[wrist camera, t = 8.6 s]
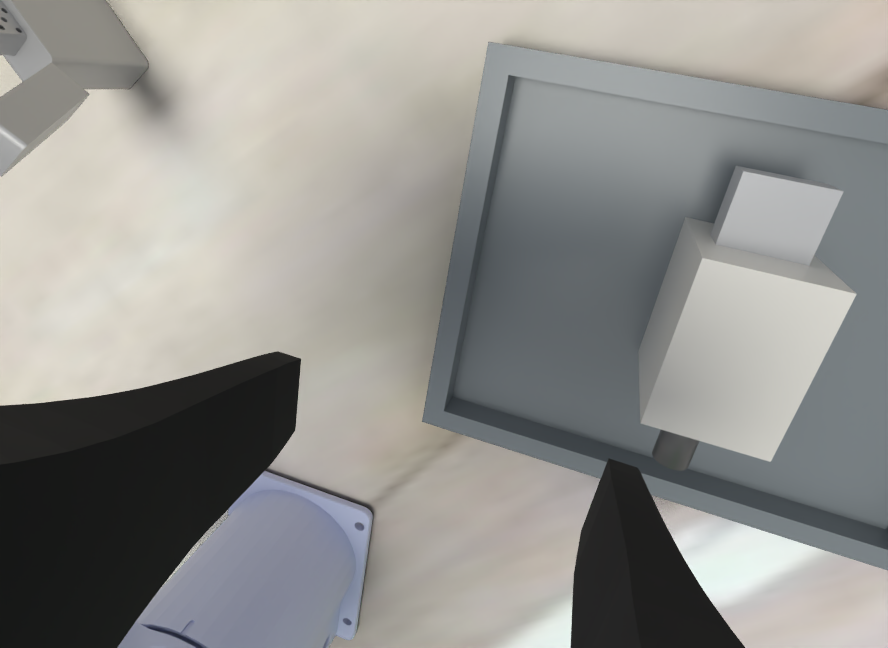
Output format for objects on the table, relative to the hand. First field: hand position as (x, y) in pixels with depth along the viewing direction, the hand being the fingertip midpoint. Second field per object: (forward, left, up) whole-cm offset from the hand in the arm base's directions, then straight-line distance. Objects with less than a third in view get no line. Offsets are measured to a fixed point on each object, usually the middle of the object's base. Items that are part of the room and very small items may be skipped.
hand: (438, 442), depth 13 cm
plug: (+2, -7, -10) cm, 12 cm away
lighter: (+5, +17, -11) cm, 21 cm away
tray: (+1, -7, -10) cm, 12 cm away
